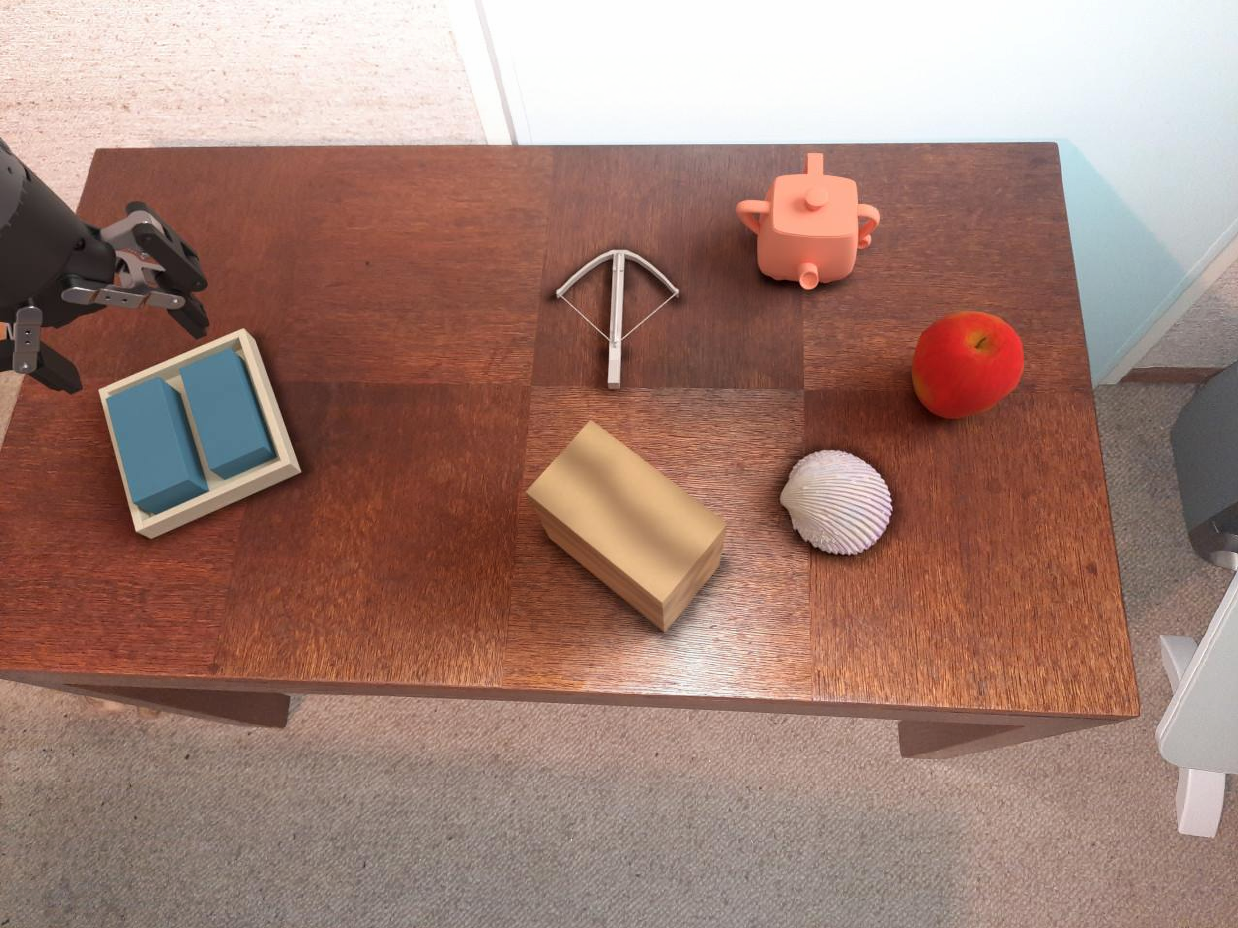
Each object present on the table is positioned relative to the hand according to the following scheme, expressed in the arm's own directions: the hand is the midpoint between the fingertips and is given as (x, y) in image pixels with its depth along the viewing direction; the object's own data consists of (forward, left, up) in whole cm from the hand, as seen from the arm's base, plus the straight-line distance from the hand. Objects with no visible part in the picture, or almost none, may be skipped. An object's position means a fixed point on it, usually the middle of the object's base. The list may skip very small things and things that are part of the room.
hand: (138, 354), depth 56 cm
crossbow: (+35, +4, -30) cm, 46 cm away
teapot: (+55, +2, -30) cm, 62 cm away
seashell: (+45, -23, -30) cm, 58 cm away
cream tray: (-8, +11, -30) cm, 33 cm away
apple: (+60, -18, -30) cm, 69 cm away
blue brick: (-5, +11, -29) cm, 31 cm away
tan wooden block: (+26, -19, -30) cm, 43 cm away
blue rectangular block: (-12, +11, -29) cm, 33 cm away
